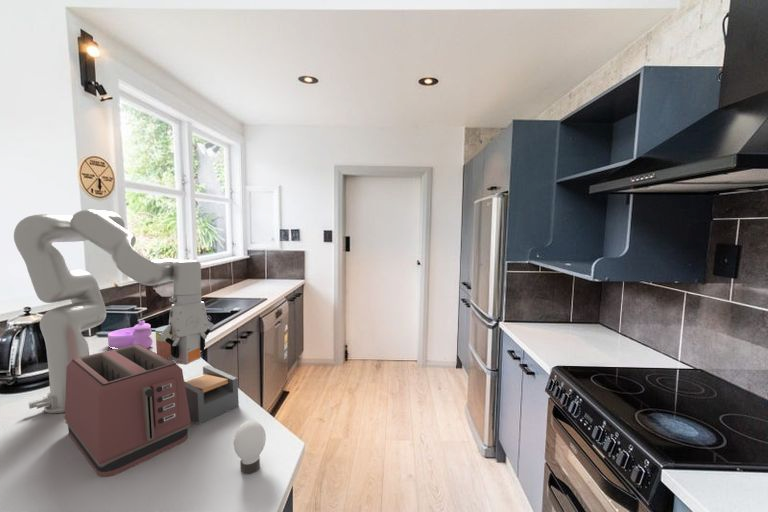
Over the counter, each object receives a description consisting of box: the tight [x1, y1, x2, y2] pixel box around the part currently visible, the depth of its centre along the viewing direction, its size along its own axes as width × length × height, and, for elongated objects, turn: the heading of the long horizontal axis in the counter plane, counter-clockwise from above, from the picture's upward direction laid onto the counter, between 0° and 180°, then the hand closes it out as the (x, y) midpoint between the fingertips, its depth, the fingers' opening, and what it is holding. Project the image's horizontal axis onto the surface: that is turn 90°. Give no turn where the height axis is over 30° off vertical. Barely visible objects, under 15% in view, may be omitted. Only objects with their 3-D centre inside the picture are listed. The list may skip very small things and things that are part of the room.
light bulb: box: [233, 419, 267, 474], centre depth 76 cm, size 7×7×11 cm
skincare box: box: [175, 333, 201, 366], centre depth 106 cm, size 6×4×12 cm
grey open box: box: [184, 364, 239, 425], centre depth 103 cm, size 12×18×9 cm, turn 55°
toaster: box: [64, 344, 192, 478], centre depth 88 cm, size 19×34×20 cm, turn 54°
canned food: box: [154, 324, 174, 359], centre depth 149 cm, size 11×11×12 cm
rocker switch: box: [184, 373, 228, 393], centre depth 103 cm, size 8×15×3 cm, turn 55°
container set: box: [107, 320, 153, 349], centre depth 161 cm, size 25×15×13 cm, turn 61°
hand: (188, 353), depth 107 cm, fingers closed on skincare box, 7 cm apart
